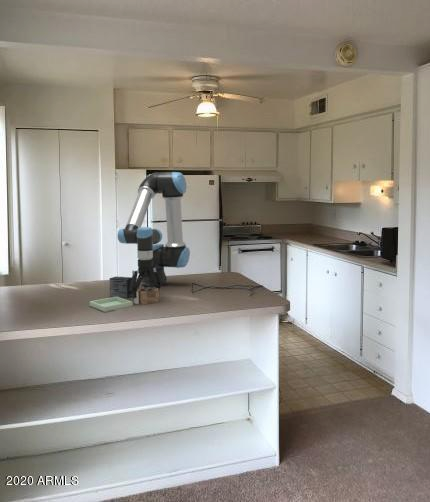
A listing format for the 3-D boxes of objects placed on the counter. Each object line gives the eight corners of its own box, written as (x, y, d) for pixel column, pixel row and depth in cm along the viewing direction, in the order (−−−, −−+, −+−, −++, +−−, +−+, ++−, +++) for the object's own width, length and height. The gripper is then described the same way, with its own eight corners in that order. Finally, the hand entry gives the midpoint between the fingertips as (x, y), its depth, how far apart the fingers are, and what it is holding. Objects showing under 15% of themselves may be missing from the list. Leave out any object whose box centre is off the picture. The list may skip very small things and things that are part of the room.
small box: (133, 296, 270) (133, 277, 268) (127, 299, 264) (127, 279, 262) (116, 295, 273) (115, 275, 272) (109, 298, 267) (108, 278, 265)
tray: (89, 306, 250) (89, 301, 249) (117, 301, 259) (116, 296, 259) (104, 312, 238) (104, 307, 238) (132, 306, 248) (132, 301, 248)
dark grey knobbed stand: (135, 302, 256) (134, 283, 255) (148, 300, 261) (148, 281, 260) (144, 305, 250) (143, 285, 249) (157, 302, 255) (157, 283, 254)
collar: (133, 301, 256) (133, 289, 255) (149, 298, 262) (148, 287, 261) (143, 304, 249) (143, 292, 249) (159, 301, 255) (158, 289, 254)
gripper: (128, 262, 242) (130, 307, 245) (169, 257, 257) (169, 300, 260) (120, 260, 248) (122, 304, 251) (160, 255, 263) (161, 297, 266)
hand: (146, 302), depth 256 cm, fingers open, 11 cm apart
